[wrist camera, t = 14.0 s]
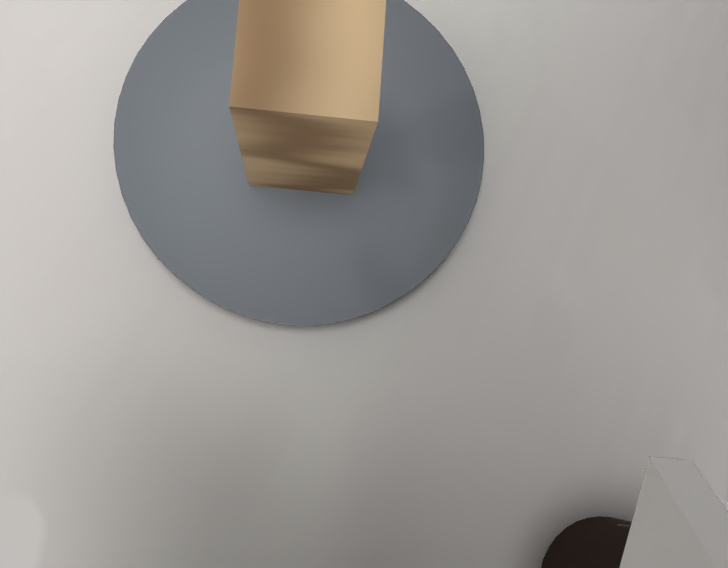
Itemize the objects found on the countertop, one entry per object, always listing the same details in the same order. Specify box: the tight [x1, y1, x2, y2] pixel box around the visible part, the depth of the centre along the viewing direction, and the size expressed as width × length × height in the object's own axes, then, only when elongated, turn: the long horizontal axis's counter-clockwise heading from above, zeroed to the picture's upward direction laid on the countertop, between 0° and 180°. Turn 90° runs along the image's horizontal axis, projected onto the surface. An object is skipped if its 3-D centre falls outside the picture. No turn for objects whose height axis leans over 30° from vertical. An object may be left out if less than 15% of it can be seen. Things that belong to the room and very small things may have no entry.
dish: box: [114, 0, 484, 325], centre depth 33 cm, size 18×18×2 cm
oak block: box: [229, 0, 386, 195], centre depth 28 cm, size 5×5×10 cm
